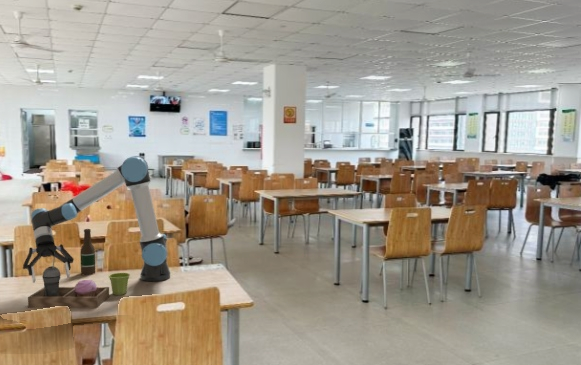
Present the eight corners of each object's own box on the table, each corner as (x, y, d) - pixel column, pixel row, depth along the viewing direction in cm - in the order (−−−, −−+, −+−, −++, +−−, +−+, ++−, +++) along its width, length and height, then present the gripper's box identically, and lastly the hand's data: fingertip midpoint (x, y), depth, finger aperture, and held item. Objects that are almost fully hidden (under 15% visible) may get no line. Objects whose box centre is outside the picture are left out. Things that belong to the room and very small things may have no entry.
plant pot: (108, 291, 232) (108, 273, 231) (129, 289, 235) (129, 271, 235) (109, 297, 223) (108, 278, 223) (130, 295, 227) (130, 276, 226)
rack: (109, 296, 224) (109, 287, 223) (97, 307, 209) (96, 297, 208) (45, 296, 223) (44, 286, 223) (28, 307, 208) (27, 297, 208)
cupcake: (70, 303, 214) (70, 281, 213) (85, 298, 222) (85, 276, 221) (86, 306, 210) (86, 283, 210) (101, 300, 219) (100, 278, 218)
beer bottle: (98, 273, 264) (97, 229, 262) (84, 276, 258) (83, 231, 256) (92, 270, 269) (91, 227, 267) (77, 273, 263) (76, 229, 261)
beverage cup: (46, 298, 219) (46, 254, 217) (63, 298, 219) (63, 254, 217) (39, 304, 211) (39, 258, 210) (57, 304, 212) (56, 258, 210)
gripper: (72, 240, 233) (80, 278, 222) (12, 246, 218) (18, 287, 207) (74, 231, 228) (83, 269, 218) (13, 236, 214) (19, 278, 203)
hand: (51, 278), depth 212 cm, fingers open, 13 cm apart
